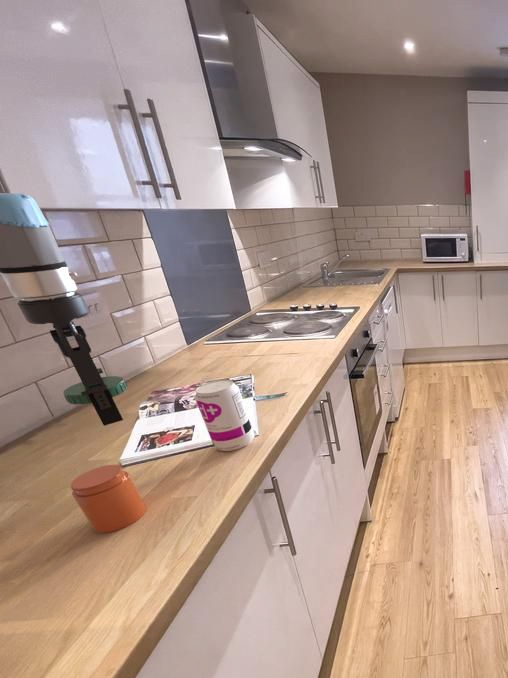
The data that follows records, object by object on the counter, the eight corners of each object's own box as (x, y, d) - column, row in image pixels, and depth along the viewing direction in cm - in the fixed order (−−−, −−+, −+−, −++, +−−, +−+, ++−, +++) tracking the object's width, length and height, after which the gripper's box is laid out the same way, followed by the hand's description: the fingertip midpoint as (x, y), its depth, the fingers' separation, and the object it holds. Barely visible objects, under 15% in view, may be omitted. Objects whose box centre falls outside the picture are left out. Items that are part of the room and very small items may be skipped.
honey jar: (81, 534, 72) (54, 491, 67) (115, 505, 78) (92, 464, 74) (126, 531, 72) (101, 488, 68) (155, 502, 79) (135, 462, 74)
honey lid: (138, 384, 79) (134, 375, 79) (103, 403, 72) (98, 394, 71) (94, 385, 79) (90, 376, 78) (54, 405, 72) (49, 396, 71)
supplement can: (233, 455, 92) (211, 396, 86) (206, 449, 95) (183, 391, 88) (263, 436, 99) (244, 381, 93) (237, 431, 102) (218, 376, 95)
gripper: (87, 300, 64) (146, 425, 74) (73, 283, 76) (125, 392, 86) (17, 310, 59) (90, 442, 69) (14, 291, 71) (76, 405, 81)
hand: (109, 414), depth 77 cm, fingers closed on honey lid, 8 cm apart
